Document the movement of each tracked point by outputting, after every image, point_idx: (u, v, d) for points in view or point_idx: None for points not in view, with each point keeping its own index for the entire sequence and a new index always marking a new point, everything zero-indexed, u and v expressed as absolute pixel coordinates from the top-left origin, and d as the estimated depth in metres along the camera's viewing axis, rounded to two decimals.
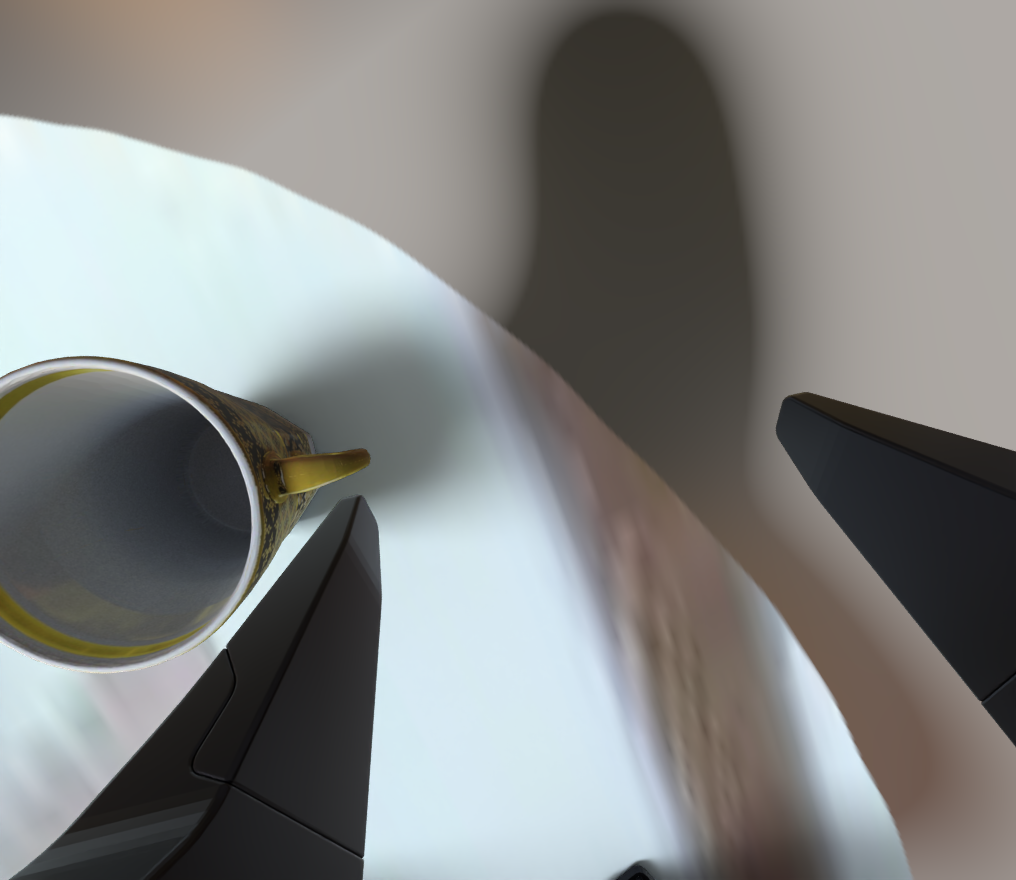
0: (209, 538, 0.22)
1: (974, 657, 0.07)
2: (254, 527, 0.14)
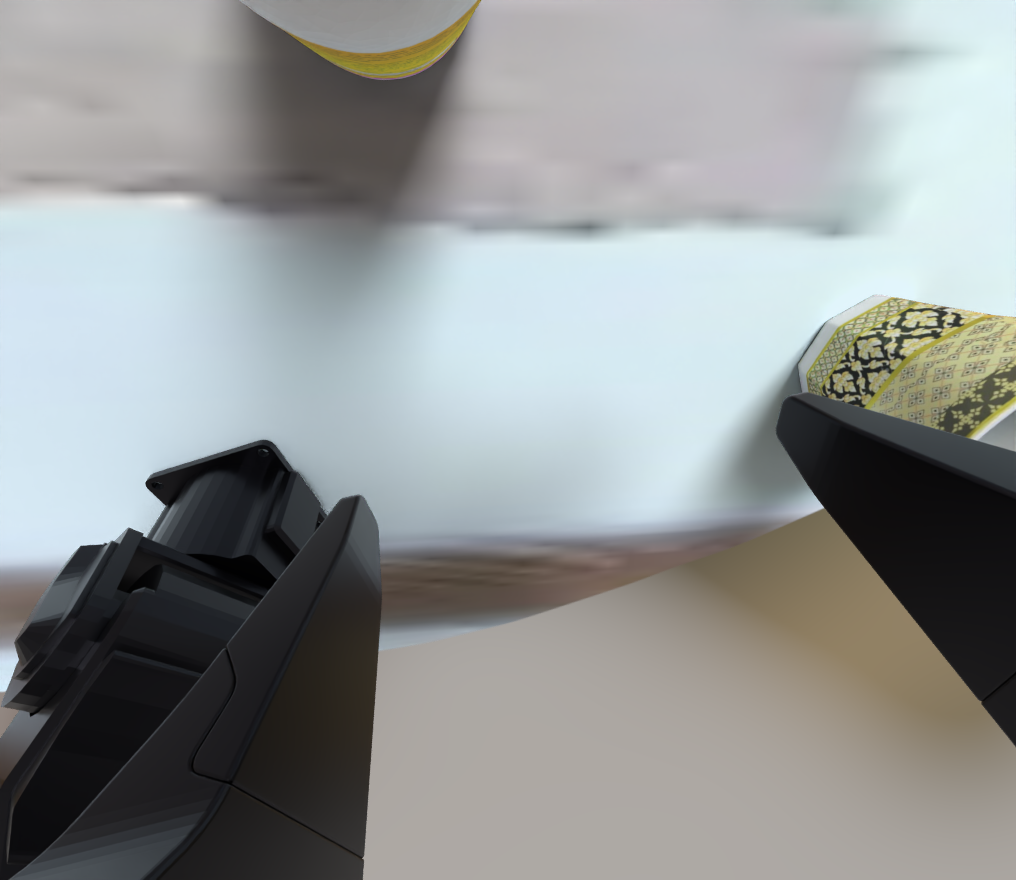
0: None
1: (974, 657, 0.07)
2: None
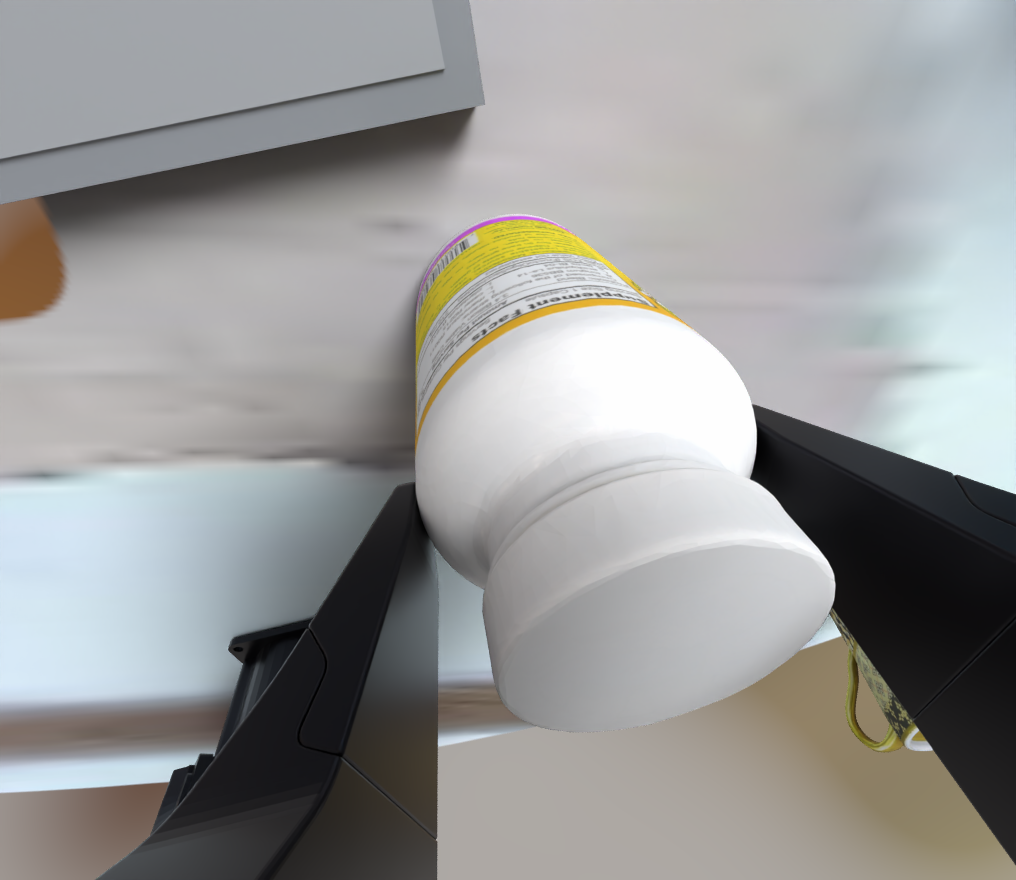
0: None
1: (906, 674, 0.07)
2: (916, 749, 0.24)
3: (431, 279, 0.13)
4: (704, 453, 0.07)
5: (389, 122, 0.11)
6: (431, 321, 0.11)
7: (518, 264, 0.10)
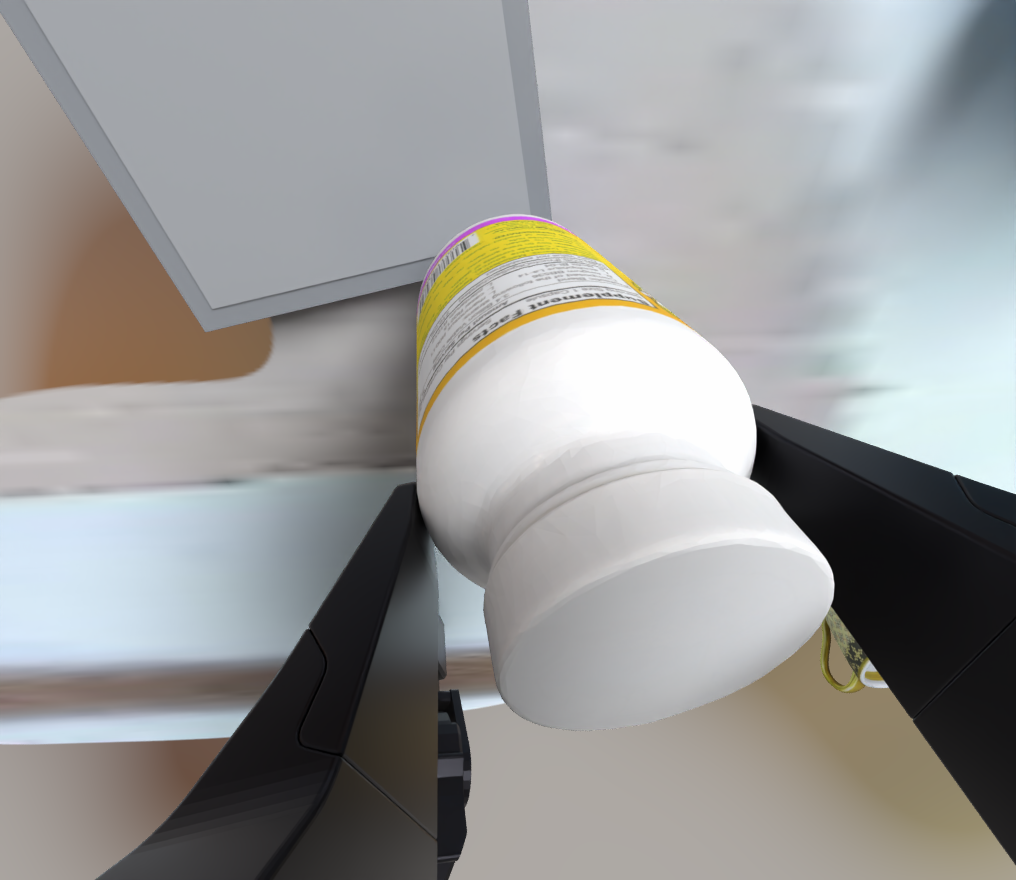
0: None
1: (905, 674, 0.07)
2: (871, 685, 0.30)
3: (432, 279, 0.13)
4: (703, 453, 0.07)
5: None
6: (432, 321, 0.11)
7: (519, 264, 0.10)
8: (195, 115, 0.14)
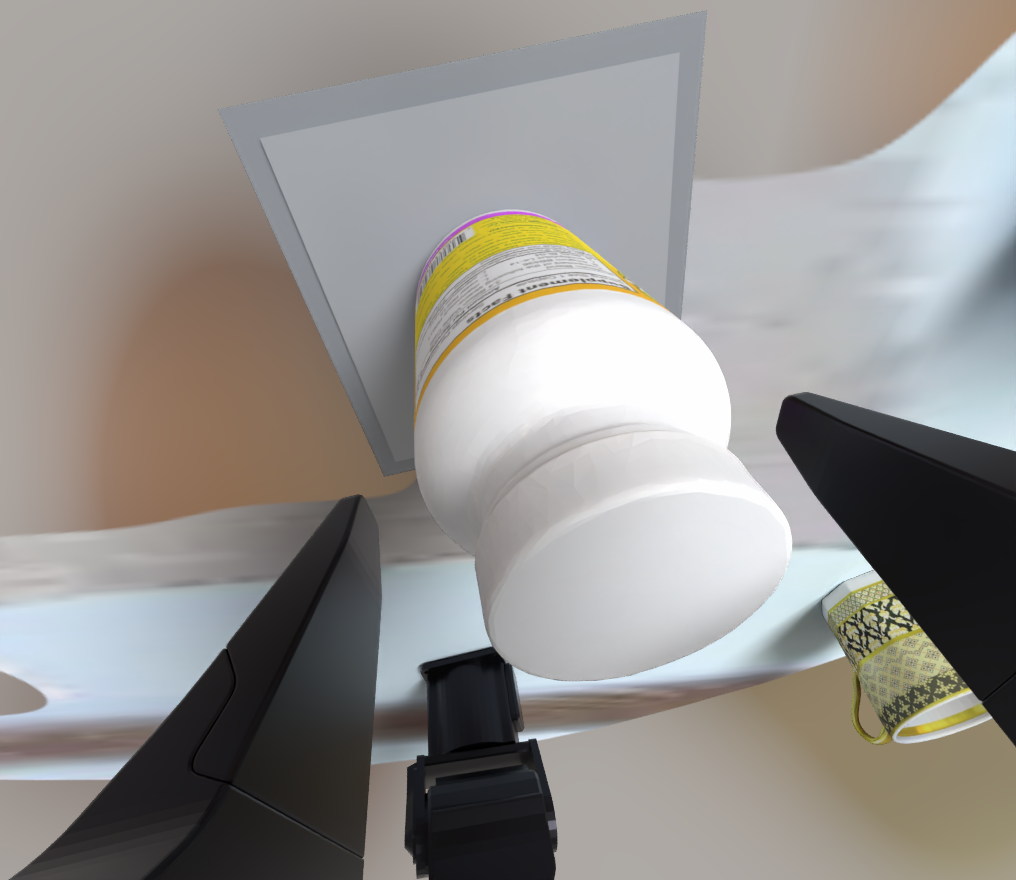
0: None
1: (974, 657, 0.07)
2: (901, 742, 0.34)
3: (430, 271, 0.13)
4: (677, 422, 0.07)
5: None
6: (429, 309, 0.11)
7: (511, 254, 0.10)
8: None
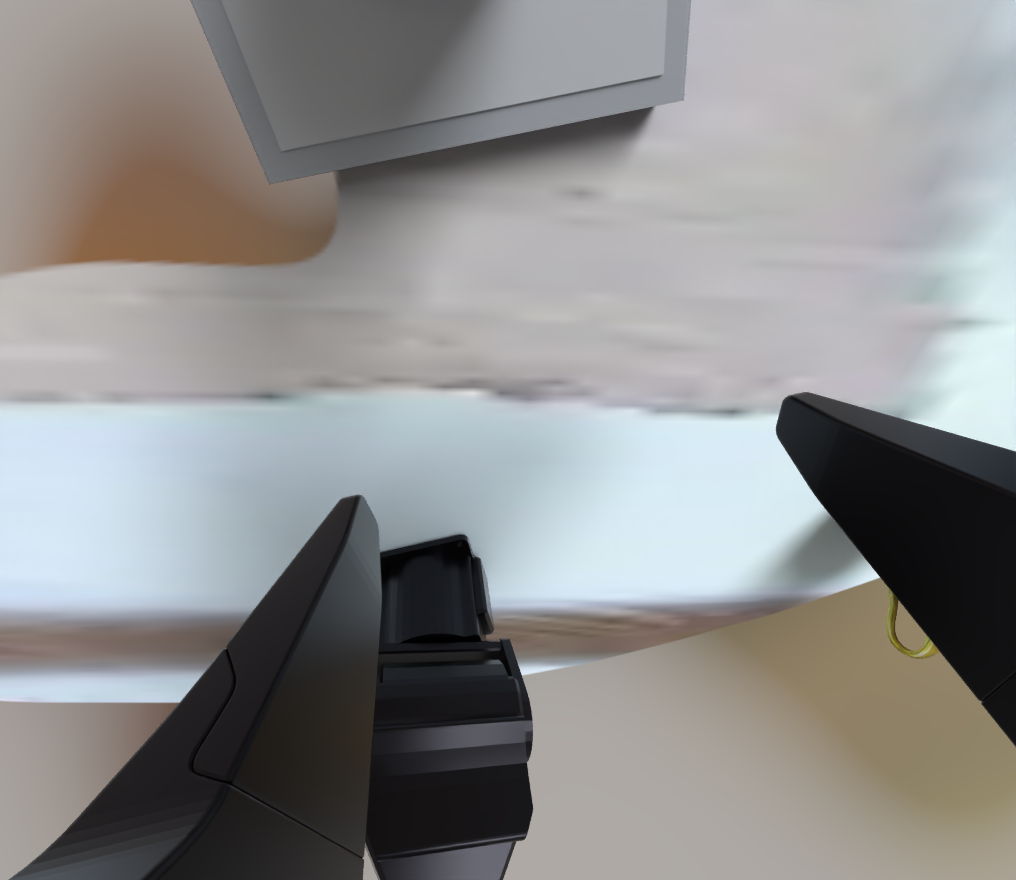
0: None
1: (974, 658, 0.07)
2: None
3: None
4: None
5: (615, 112, 0.15)
6: None
7: None
8: None
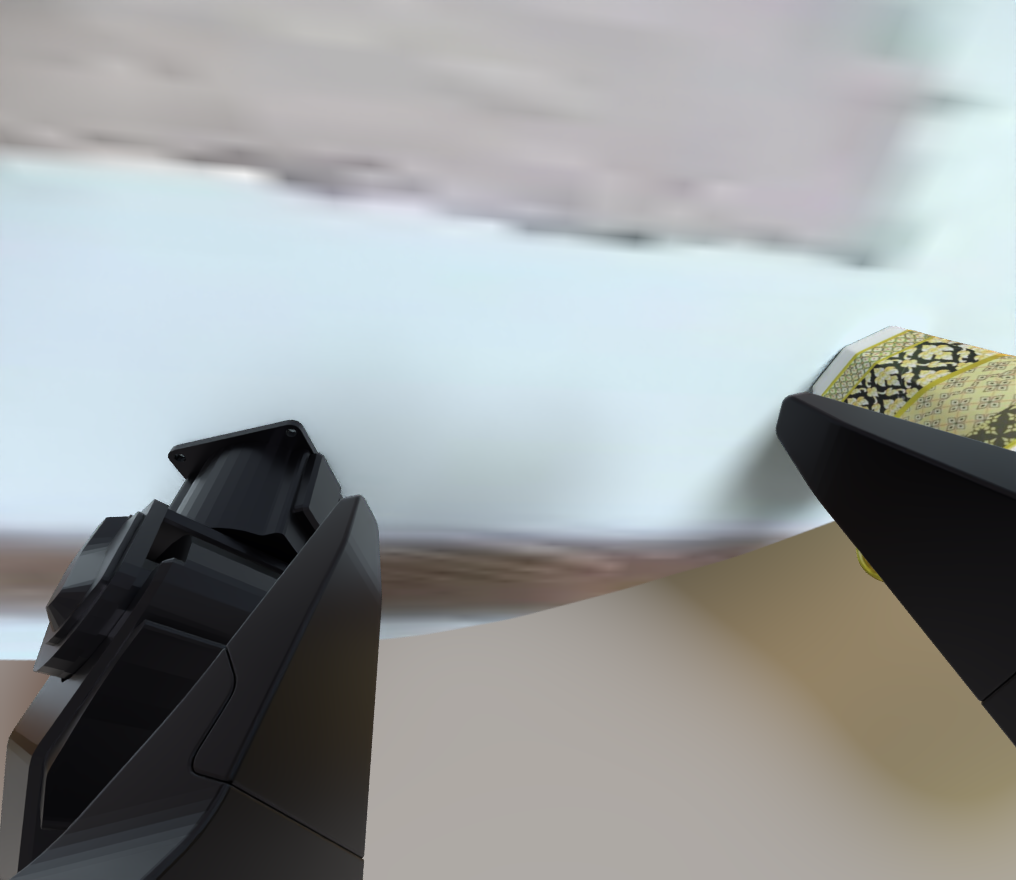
0: None
1: (974, 657, 0.07)
2: None
3: None
4: None
5: None
6: None
7: None
8: None
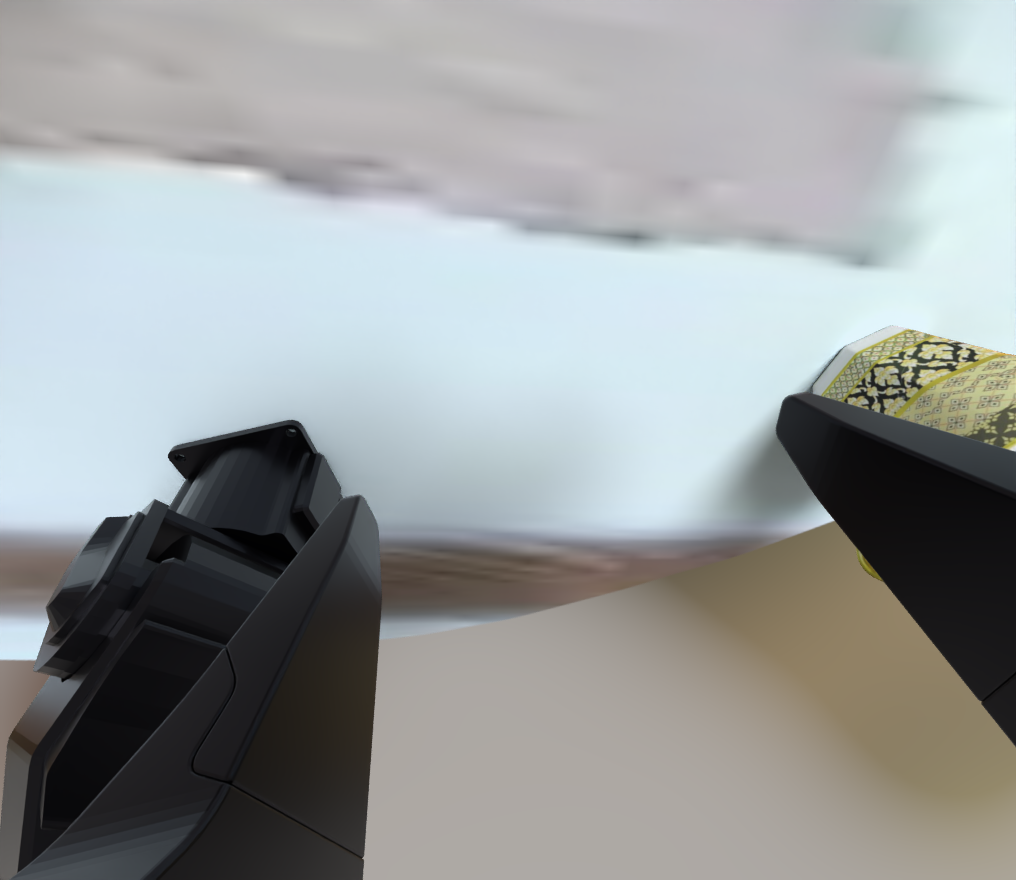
0: None
1: (974, 658, 0.07)
2: None
3: None
4: None
5: None
6: None
7: None
8: None
